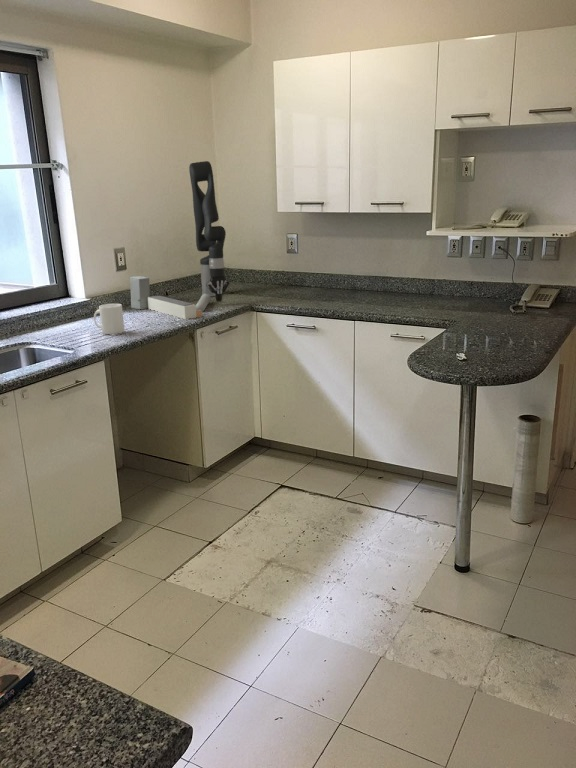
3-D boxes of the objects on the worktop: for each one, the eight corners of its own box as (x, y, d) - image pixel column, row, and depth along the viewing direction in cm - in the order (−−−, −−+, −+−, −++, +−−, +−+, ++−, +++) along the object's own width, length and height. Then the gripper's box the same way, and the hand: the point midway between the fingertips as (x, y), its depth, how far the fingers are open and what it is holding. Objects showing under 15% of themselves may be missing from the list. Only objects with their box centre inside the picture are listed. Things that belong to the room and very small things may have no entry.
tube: (206, 304, 315) (212, 295, 339) (195, 301, 315) (202, 292, 338) (203, 315, 317) (209, 304, 340) (192, 312, 316) (199, 302, 340)
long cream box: (164, 306, 333) (163, 294, 331) (201, 316, 307) (201, 303, 305) (148, 309, 328) (147, 296, 326) (185, 319, 301) (184, 305, 300)
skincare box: (131, 308, 332) (127, 277, 327) (142, 306, 337) (139, 275, 332) (140, 310, 326) (137, 278, 322) (152, 307, 331) (149, 276, 326)
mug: (125, 333, 277) (122, 306, 273) (96, 336, 274) (92, 309, 270) (123, 329, 286) (121, 302, 282) (95, 331, 282) (92, 305, 279)
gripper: (223, 265, 334) (225, 298, 339) (201, 267, 326) (204, 302, 331) (232, 266, 328) (233, 300, 333) (209, 268, 320) (212, 303, 326)
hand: (219, 301), depth 332 cm, fingers closed
